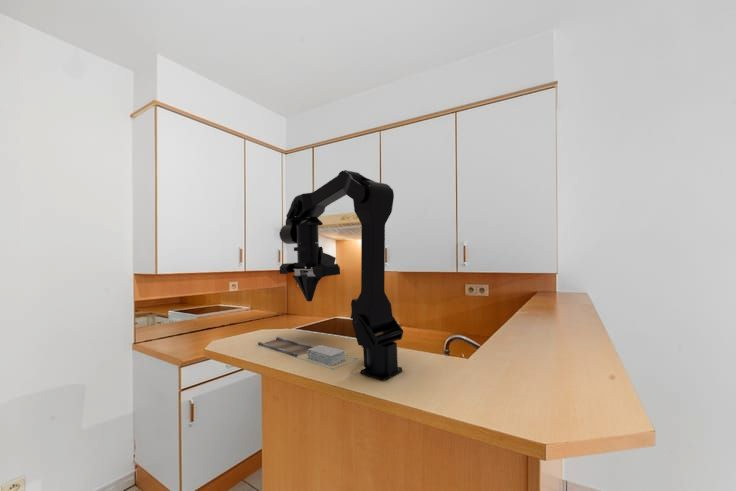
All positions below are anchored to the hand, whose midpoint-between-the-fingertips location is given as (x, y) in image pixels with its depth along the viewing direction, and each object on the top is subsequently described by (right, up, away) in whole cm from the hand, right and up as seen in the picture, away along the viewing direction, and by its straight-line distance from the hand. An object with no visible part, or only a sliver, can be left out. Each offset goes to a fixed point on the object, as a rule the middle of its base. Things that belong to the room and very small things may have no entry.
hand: (309, 301), depth 83 cm
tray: (+6, -12, -12) cm, 18 cm away
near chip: (+8, -12, -14) cm, 20 cm away
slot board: (-6, -13, -3) cm, 14 cm away
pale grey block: (+5, -12, -12) cm, 17 cm away
